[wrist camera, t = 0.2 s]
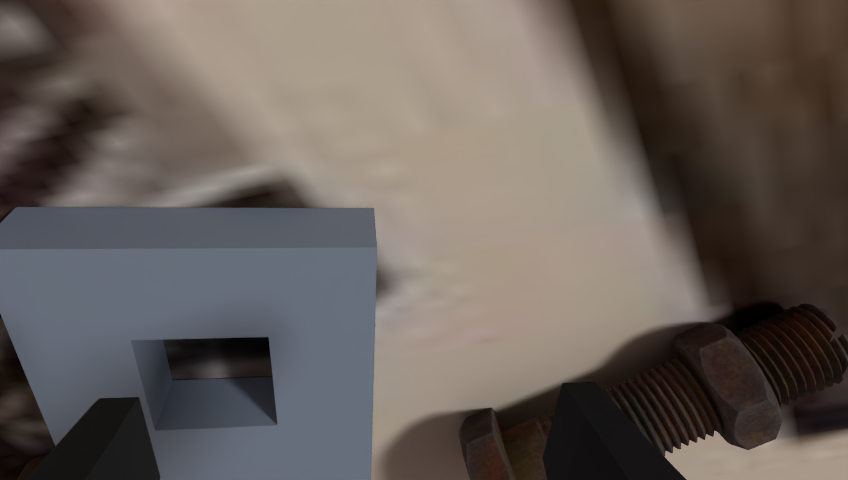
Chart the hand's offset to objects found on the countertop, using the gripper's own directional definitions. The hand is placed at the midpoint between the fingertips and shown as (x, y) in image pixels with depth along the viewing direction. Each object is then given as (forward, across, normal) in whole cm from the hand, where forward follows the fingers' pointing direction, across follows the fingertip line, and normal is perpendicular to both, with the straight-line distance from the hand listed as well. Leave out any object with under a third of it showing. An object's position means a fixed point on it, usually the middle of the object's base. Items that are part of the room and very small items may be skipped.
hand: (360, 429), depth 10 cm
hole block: (+10, +5, +7) cm, 13 cm away
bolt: (+10, -12, +9) cm, 19 cm away
